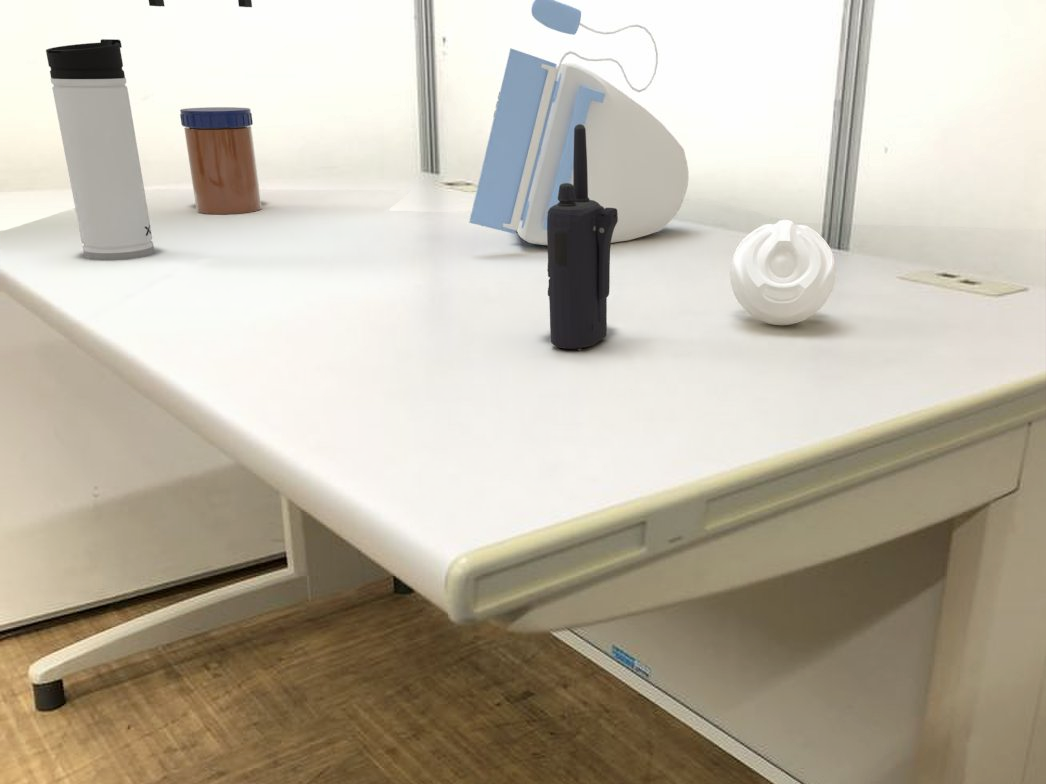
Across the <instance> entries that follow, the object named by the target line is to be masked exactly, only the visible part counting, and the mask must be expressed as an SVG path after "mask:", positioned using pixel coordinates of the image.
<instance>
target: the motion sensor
mask: <svg viewBox="0 0 1046 784" xmlns="http://www.w3.org/2000/svg"><path fill="white" fill-rule="evenodd" d="M836 268H837V267H836V262H835V257H834V253H833V251H832V248H831V247H830V245H829V244H828V242H827V241H826V240H825V239H824V238H823V236H822V235H821V234H820V233H818V232H817V231H816V230H814V229H813V228H811V227H810V226H807V225H805V224H796V223H795V222H794V221H792V220H790V219H780V220H779V221H777V222H776V223H773V224H772V223H765V224H763V225H761V226H759V227H756V228H754V230H752V231H751V232H750V233H749V234H747V235H746V236H745V237H743V239H742V240H741V241H740V243H738V245H737V247H736V249H735V250H734V253H733V256H732V259H731V263H730V267H729V269H730V270H729V279H730V280H729V281H730V285H731V290H732V292H733V294H734V295H733V296H735V299H736V300H737V302H738V303H739V305H740V306H741V307H742V308H743V309H744V311H746V312H747V313H748V314H749V315H750V316H751V317H753V318H755V319H756V320H758V321H760V322H762V323H765V324H768V325H772V326H773V325H774V326H790V325H795V324H798V323H802V322H803V321H806V320H807V319H809V318H811V317H812V316H813V315H815V314H816V313H818V311H819V310H821V309H822V308H823V306H824V305H825V304H826V302H828V300H829V298H830V297H831V295H832V292H833V290H834V287H835V282H836V276H837V275H836V274H837V269H836Z"/></svg>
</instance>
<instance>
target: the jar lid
mask: <svg viewBox="0 0 1046 784" xmlns="http://www.w3.org/2000/svg"><path fill="white" fill-rule="evenodd" d="M179 111H180V112H179V113H180V114H179V116H180V124H181V126H182V127H184V128H185V127H192V128H229V127H245V126H251V127H252V125H253V124H254V123H253V115H252V111H251V108H248V107H235V106H234V107H232V106H231V107H230V106H226V107H225V106H217V107H216V106H215V107H214V106H213V107H187V108H181V109H180V110H179Z"/></svg>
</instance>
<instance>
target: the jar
mask: <svg viewBox="0 0 1046 784" xmlns="http://www.w3.org/2000/svg"><path fill="white" fill-rule="evenodd" d="M183 130H184V137H185V142H186V144H185V145H186V149H187V158H188V164H189V170H190V176H191V182H192V183H191V184H192V190H193V197H194V203H195V210H196V213H200V214H204V215H205V214H206V215H237V214H238V215H239V214H248V213H253V212H257V211H260V210H262V200H261V191H260V183H259V175H258V168H257V160H256V153H255V145H254V138H253V137H254V136H253V128H252V125H251V126H245V127H229V128H192V127H184V129H183Z"/></svg>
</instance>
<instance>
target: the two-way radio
mask: <svg viewBox="0 0 1046 784" xmlns="http://www.w3.org/2000/svg"><path fill="white" fill-rule="evenodd" d="M558 200H559V203H558V204H556V205H554V206H552V207H551V208H550V209H549V211H548V216H547V245H546V246H547V268H546V269H547V270H546V271H547V276H548V288H547V297H548V301H549V330H550V333H549V334H550V342H551V344H552V345H553V346H554V347H556V348H557V349H565V350H566V349H567V350H574V351H581V350H582V348H586V347H590V346H593V345H595V344H597V343H599V342H600V341H602V340H603V339H605V338H606V337H607V332H608V321H607V319H608V318H607V317H608V315H607V311H608V303H607V302H608V297H609V296H610V288H611V287H610V285H611V284H610V283H611V282H610V280H611V279H610V278H611V277H610V276H611V273H610V271H611V269H610V268H611V246H612V243H611V239H612V234H613V231H614V228H615V226H616V224H617V222H618V213H617V209H616V208H605V209H604V207H603V206H600V204H599V203H598V202H596V201H594V200H590V199H589V198H588V176H587V149H586V129H585V127H584V126H583V125H581V124H578V125H576V126H575V128H574V159H573V185H572V184H570V183H563V184H561V185H560V186H559V193H558Z"/></svg>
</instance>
